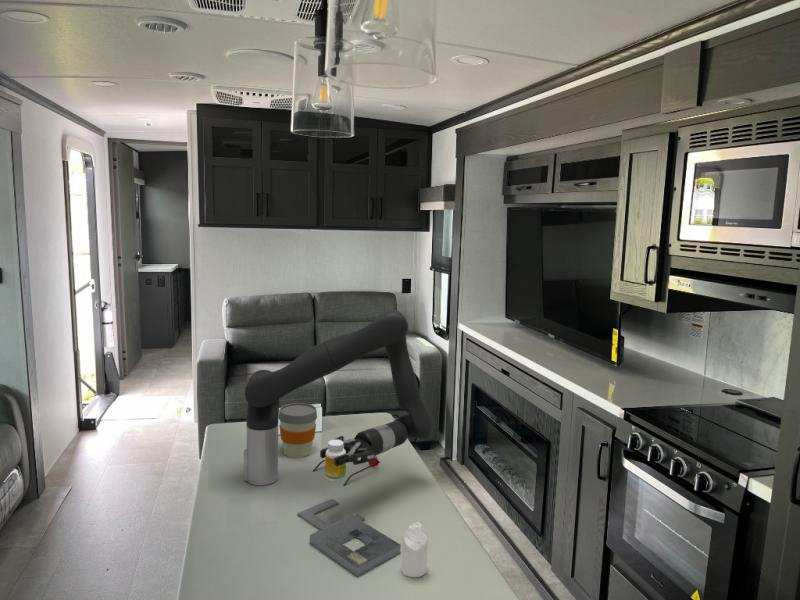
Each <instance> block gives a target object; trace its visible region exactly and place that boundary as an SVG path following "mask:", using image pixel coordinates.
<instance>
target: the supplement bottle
mask: <svg viewBox="0 0 800 600" xmlns="http://www.w3.org/2000/svg"><path fill="white" fill-rule="evenodd" d="M327 445H328V446H327V448H329V449H327V451H326V457H325V458H324V460H325V461H324V463H325V468H324V470H325V473H324V474H325V478H326V480H328V481H330V482H331V481H333V482H334V481H335V482H338V481H341V480H343V479H345V477H346V471H347V470H346V468H347V467H346V465H347V463H345V464H342V465H339V466H335V465H334V459H335V458H336V457H338V456H341V455H344V454H346V451H345V450H344V445H343V441H341V440H334V439H331V440H329V441H328V443H327Z"/></svg>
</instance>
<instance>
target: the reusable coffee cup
mask: <svg viewBox="0 0 800 600" xmlns="http://www.w3.org/2000/svg"><path fill="white" fill-rule="evenodd" d="M317 411H318V410H317V407H316V406H314V405H313V404H309V403H304V402H293V403H288V404H285V405H282V406H281V407H279V418H278V421H279V425H278V428H279V434H280V440H281V442H282V447H283V454H284V455H285V456H286V457H288V458H297V459H298V458H300V459H301V458H304V457H307V455H308V456H309V455H310V454H311V453H312V448H313V441H314V439H315V435H316V428H317V424H316V420H317V418H318V413H317Z"/></svg>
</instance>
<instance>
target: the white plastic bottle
mask: <svg viewBox="0 0 800 600" xmlns="http://www.w3.org/2000/svg"><path fill="white" fill-rule="evenodd" d="M401 540H402V541H401V548H402V549H401V566H400V570H401V573H402V574H403V575H404V576H406V577H409V578H420V577H422V576H424V575H426V572H427V567H428V566H427V565H428V563H427V562H428V547H429V539H428V537H427V535H426V533H425V532H424V529H423V525H422V524H421V522H418V521H415V522H412V523H411V524H410V525H409V527H408V529H406V531H405V533H403V535H402V539H401Z"/></svg>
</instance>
